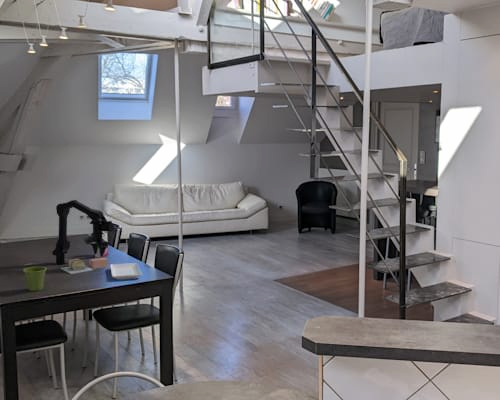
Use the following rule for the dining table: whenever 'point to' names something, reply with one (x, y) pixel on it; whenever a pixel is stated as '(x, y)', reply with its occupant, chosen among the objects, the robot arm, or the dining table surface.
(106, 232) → the candy bar box
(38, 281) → the plant pot
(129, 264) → the tray
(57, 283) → the dining table surface
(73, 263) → the brick
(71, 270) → the blueprint board
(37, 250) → the dining table surface
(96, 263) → the brick
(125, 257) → the dining table surface
